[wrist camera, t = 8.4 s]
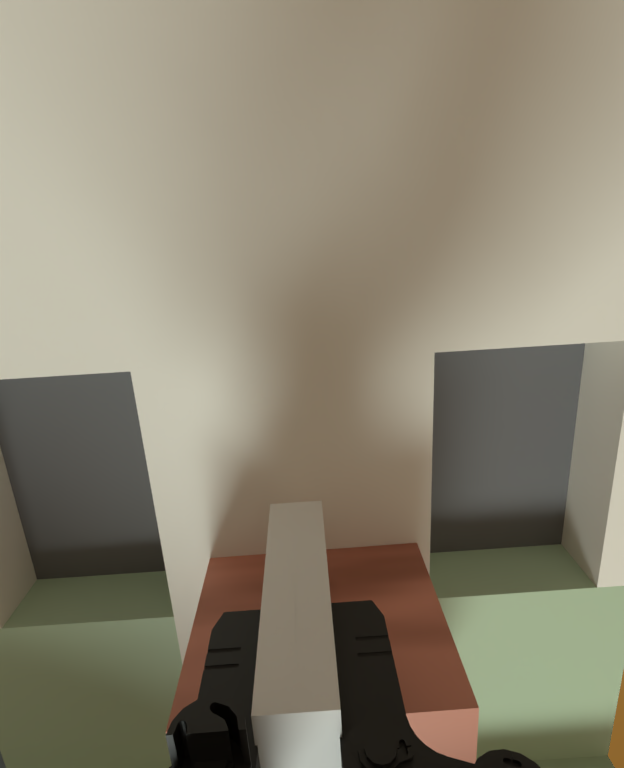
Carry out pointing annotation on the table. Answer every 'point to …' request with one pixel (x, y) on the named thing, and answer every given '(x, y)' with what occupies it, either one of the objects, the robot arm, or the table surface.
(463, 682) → the block
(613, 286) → the box
